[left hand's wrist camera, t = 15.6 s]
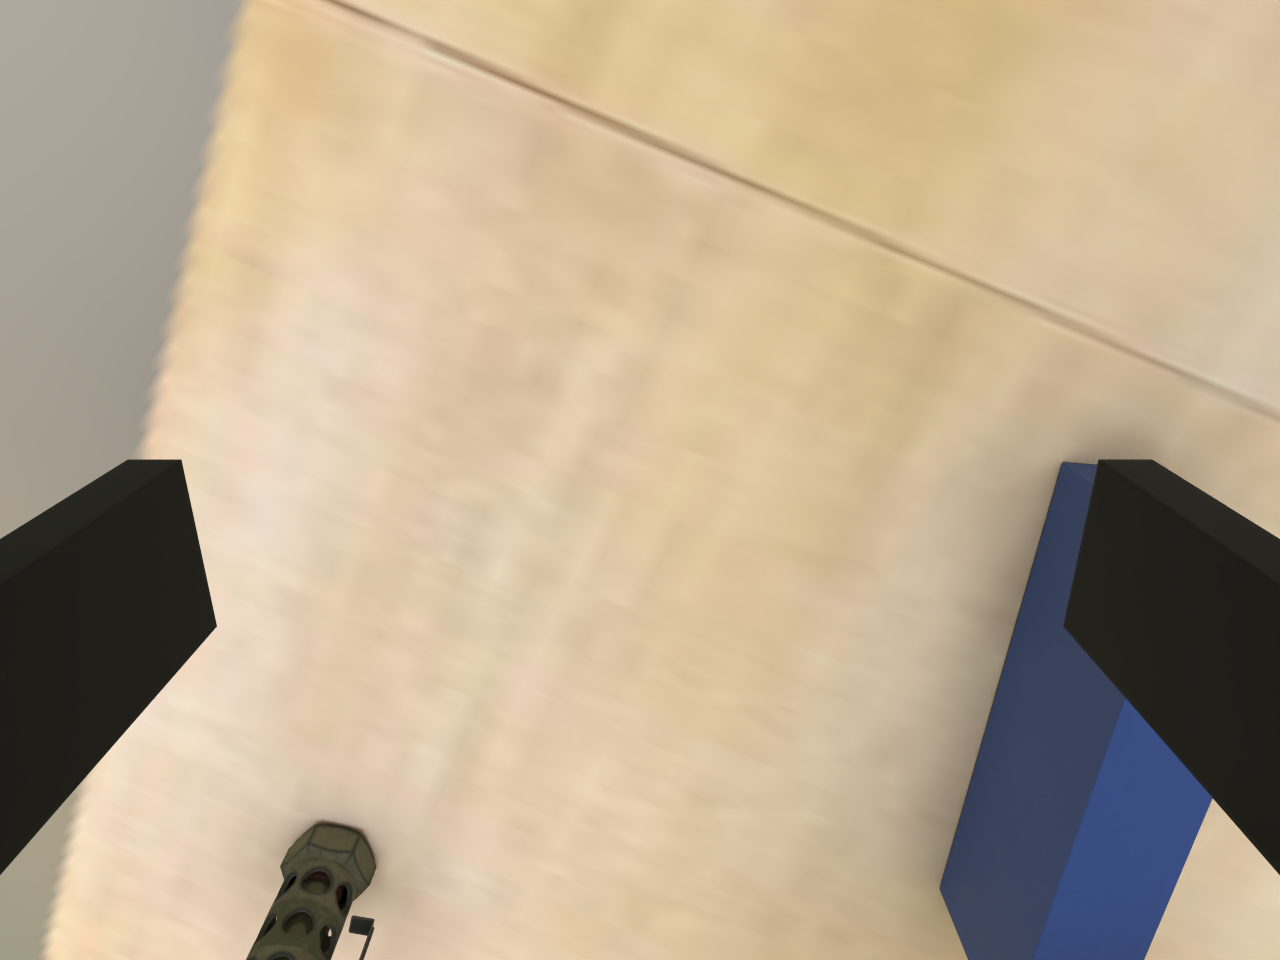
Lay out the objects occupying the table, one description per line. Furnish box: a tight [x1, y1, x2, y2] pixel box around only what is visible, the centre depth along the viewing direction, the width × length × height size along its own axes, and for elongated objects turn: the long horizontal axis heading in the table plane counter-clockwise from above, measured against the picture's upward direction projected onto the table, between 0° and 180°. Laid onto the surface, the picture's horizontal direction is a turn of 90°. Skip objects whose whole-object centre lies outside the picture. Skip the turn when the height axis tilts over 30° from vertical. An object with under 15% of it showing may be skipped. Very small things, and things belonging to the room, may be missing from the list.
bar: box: [940, 462, 1212, 960], centre depth 41 cm, size 27×5×9 cm, turn 175°
